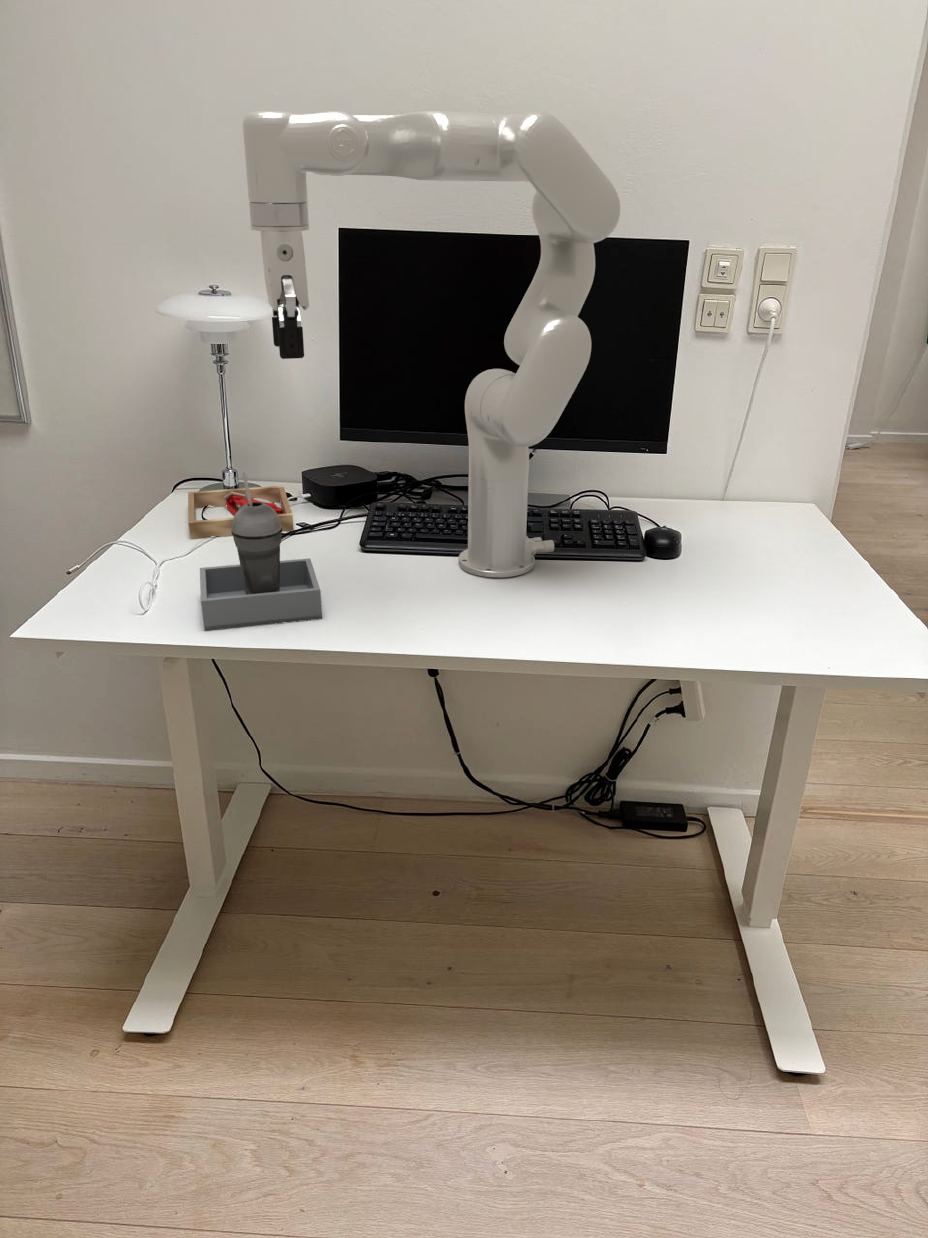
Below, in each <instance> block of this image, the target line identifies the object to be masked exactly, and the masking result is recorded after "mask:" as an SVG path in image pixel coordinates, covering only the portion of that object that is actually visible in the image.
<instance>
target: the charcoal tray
mask: <svg viewBox="0 0 928 1238" xmlns="http://www.w3.org/2000/svg"><path fill="white" fill-rule="evenodd" d="M311 560H312V559H311V558H298V559H286V560H280V592H269V593H259V594H248V595H246V592H245V587H244V582H243V577H242V571H241V566H240V563H239V564H230V565H229V564H228V565H218V566H217V565H216V566H208V567H207V566H206V567H199V582H200V583H199V584H200V605H201V612H202V621H203V629H204V632H207V631H216V630H225V629H234V628H236V629H237V628H247V627H255V626H256V627H257V626H266V625H274V624H275V623H277V624H284V623H283V622H287V623H292V622H291V621H296V622H300V621H299V620H306V621H312V620H311V619H316V620H322V619H323V612H322V611H323V610H322V596H321V588H320V585H319V581H318V579H317V575H316V573H315V568H314V565H313V563H312V561H311Z"/></svg>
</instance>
